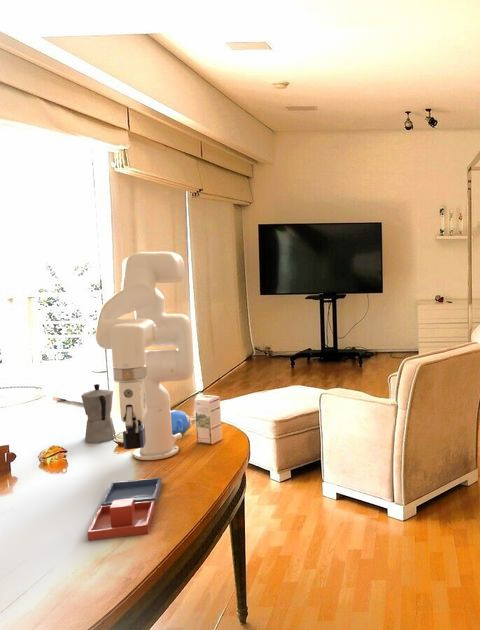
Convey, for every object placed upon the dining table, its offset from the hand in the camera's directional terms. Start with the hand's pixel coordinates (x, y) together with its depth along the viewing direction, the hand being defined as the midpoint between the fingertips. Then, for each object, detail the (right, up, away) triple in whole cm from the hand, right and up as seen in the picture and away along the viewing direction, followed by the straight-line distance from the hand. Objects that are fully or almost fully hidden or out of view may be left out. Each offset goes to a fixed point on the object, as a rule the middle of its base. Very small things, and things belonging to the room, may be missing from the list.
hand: (135, 444), depth 168 cm
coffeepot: (-32, -8, +50) cm, 60 cm away
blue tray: (-2, -14, +3) cm, 15 cm away
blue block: (0, 0, 0) cm, 0 cm away
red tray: (+2, -16, -12) cm, 20 cm away
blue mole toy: (-7, -7, +54) cm, 55 cm away
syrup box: (+4, -8, +47) cm, 48 cm away
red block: (+2, -16, -12) cm, 20 cm away
